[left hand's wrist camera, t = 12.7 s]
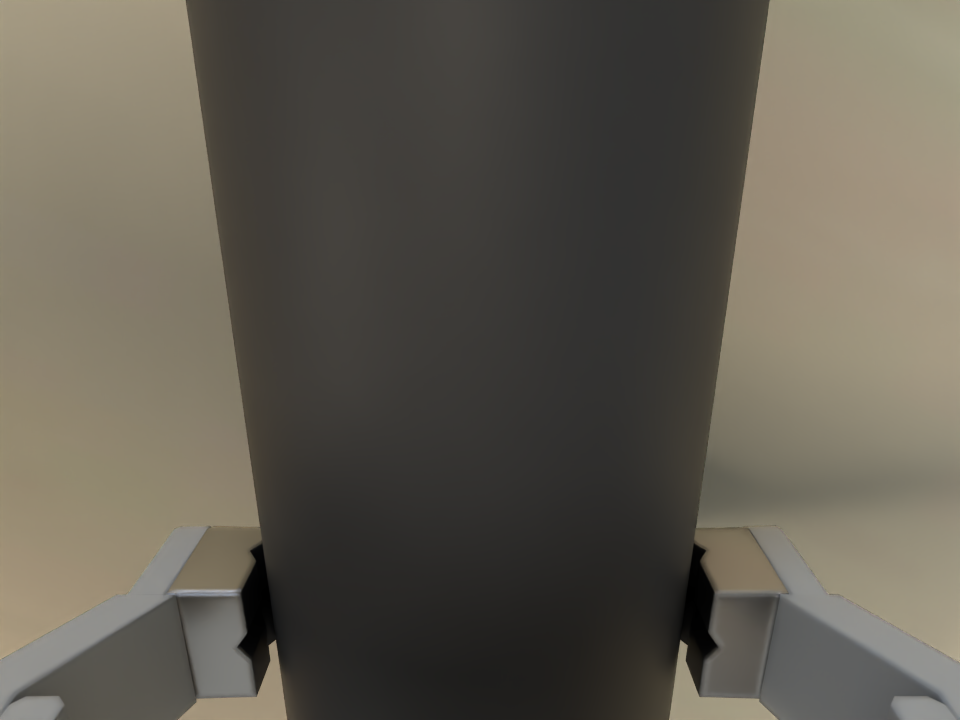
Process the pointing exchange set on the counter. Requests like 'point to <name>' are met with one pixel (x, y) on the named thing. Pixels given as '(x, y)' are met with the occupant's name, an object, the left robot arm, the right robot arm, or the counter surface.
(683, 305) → the rod
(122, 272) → the counter surface
